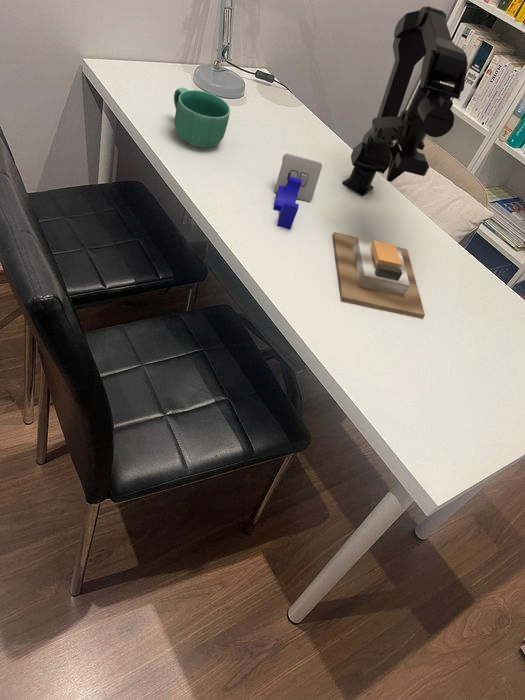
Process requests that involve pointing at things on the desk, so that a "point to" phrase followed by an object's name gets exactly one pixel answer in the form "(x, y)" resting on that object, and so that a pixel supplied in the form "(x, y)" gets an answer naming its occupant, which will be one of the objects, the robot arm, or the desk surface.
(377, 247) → the orange wedge plank
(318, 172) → the electrical switch
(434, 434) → the desk surface
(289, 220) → the cable clip
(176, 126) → the mug
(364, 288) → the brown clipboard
